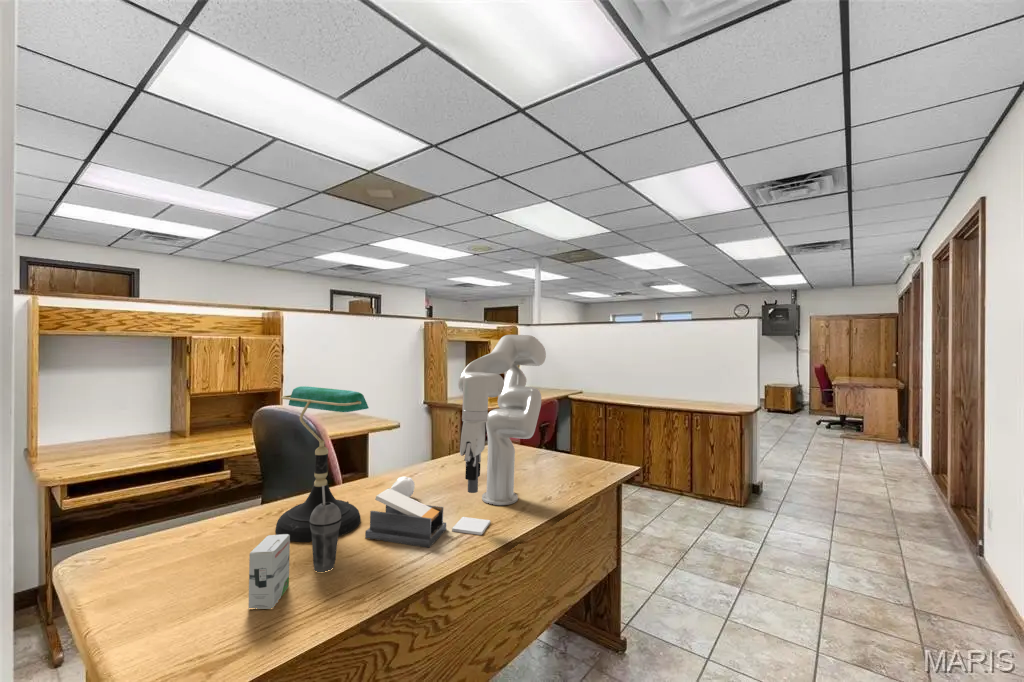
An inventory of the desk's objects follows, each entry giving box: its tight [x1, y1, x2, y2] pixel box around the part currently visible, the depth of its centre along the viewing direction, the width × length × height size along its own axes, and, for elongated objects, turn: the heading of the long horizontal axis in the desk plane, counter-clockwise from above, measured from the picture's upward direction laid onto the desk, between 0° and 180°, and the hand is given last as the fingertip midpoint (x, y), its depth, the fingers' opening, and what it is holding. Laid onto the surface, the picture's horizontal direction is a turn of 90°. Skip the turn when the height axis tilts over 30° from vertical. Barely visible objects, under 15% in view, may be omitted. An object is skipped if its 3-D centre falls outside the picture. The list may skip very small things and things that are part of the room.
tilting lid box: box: [364, 504, 447, 548], centre depth 127 cm, size 19×12×7 cm, turn 77°
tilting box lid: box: [374, 487, 440, 522], centre depth 127 cm, size 17×7×1 cm, turn 77°
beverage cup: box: [309, 486, 342, 573], centre depth 107 cm, size 7×7×20 cm
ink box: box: [248, 534, 291, 609], centre depth 94 cm, size 9×5×12 cm, turn 5°
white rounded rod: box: [467, 454, 479, 494], centre depth 133 cm, size 3×3×12 cm
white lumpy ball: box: [390, 476, 415, 498], centre depth 155 cm, size 8×8×8 cm
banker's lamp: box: [274, 385, 369, 543], centre depth 132 cm, size 26×23×40 cm
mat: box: [451, 516, 491, 536], centre depth 133 cm, size 9×9×1 cm
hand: (472, 477), depth 133 cm, fingers closed on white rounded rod, 3 cm apart
